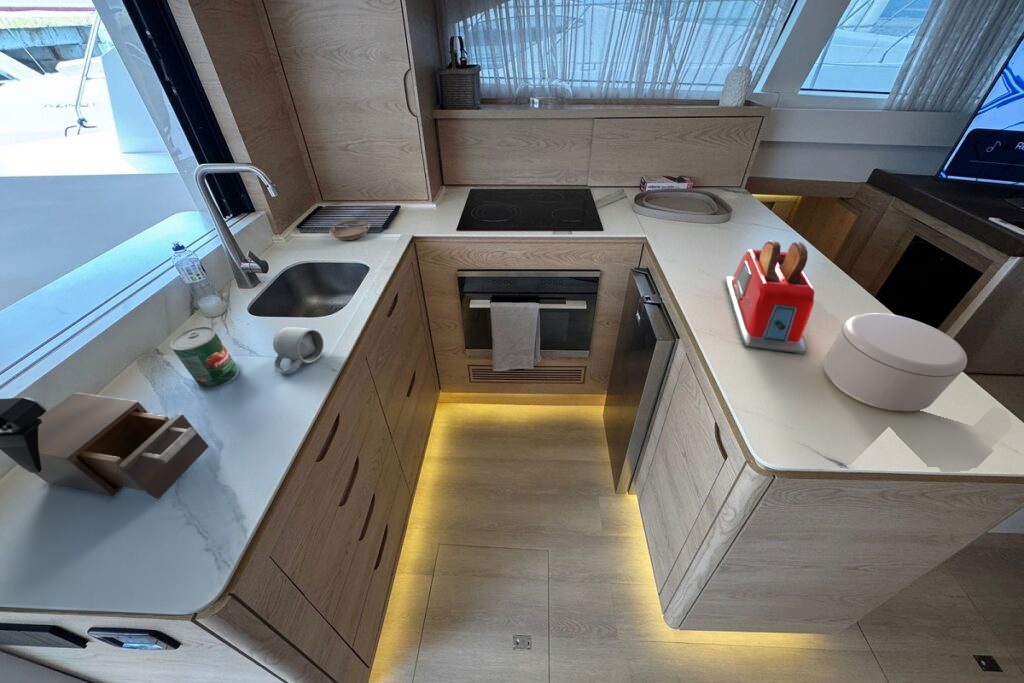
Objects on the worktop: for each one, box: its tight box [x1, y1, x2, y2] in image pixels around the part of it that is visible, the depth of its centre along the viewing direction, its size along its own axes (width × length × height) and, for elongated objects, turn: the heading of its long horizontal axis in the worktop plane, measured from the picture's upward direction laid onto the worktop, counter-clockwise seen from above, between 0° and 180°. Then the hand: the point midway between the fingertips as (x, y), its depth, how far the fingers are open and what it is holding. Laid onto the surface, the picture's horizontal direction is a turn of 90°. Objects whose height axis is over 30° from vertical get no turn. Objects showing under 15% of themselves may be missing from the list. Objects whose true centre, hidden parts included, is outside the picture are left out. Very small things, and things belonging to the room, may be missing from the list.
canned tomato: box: [169, 326, 240, 390], centre depth 84 cm, size 8×8×11 cm
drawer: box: [76, 411, 210, 500], centre depth 65 cm, size 17×10×9 cm, turn 79°
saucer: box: [328, 219, 371, 241], centre depth 147 cm, size 15×15×3 cm
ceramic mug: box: [272, 326, 325, 375], centre depth 88 cm, size 11×8×8 cm
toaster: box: [725, 240, 815, 354], centre depth 94 cm, size 32×13×19 cm, turn 164°
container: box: [822, 312, 968, 412], centre depth 76 cm, size 18×18×12 cm
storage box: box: [34, 391, 150, 497], centre depth 67 cm, size 14×12×11 cm
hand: (4, 503), depth 50 cm, fingers open, 9 cm apart
